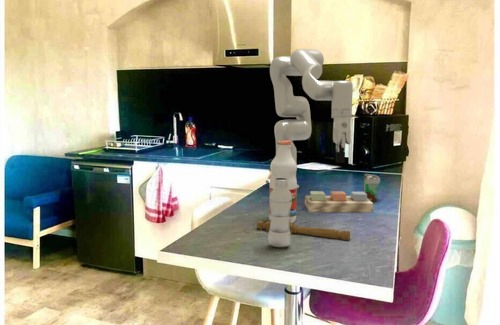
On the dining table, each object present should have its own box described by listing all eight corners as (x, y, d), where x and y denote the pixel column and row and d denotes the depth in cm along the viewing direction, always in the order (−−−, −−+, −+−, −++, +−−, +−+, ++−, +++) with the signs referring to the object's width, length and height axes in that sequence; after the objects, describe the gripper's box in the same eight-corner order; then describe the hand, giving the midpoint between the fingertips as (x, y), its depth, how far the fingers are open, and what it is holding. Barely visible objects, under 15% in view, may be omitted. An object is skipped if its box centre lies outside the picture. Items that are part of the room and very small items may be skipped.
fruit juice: (272, 216, 164) (274, 139, 160) (298, 218, 161) (300, 140, 157) (265, 223, 155) (267, 141, 151) (292, 226, 152) (295, 143, 148)
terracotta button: (332, 203, 173) (333, 194, 173) (330, 200, 178) (330, 191, 178) (345, 203, 173) (346, 194, 173) (343, 200, 178) (343, 191, 178)
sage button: (311, 203, 173) (312, 194, 173) (310, 199, 178) (310, 191, 178) (324, 203, 173) (325, 194, 173) (322, 200, 178) (323, 191, 178)
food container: (380, 204, 183) (381, 179, 182) (364, 203, 185) (365, 179, 183) (378, 197, 195) (379, 174, 194) (363, 196, 197) (364, 173, 195)
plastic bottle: (266, 242, 135) (267, 176, 132) (289, 242, 136) (290, 176, 133) (269, 250, 129) (270, 181, 126) (292, 249, 130) (294, 181, 126)
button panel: (309, 212, 170) (309, 202, 170) (304, 204, 182) (305, 195, 181) (372, 212, 170) (373, 203, 170) (364, 204, 182) (364, 196, 182)
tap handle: (349, 232, 137) (255, 221, 147) (348, 242, 138) (255, 230, 148) (350, 229, 140) (258, 219, 150) (350, 239, 140) (258, 227, 151)
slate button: (353, 203, 173) (354, 194, 173) (350, 200, 178) (351, 191, 178) (366, 203, 174) (367, 194, 173) (363, 200, 178) (363, 191, 178)
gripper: (356, 114, 164) (354, 165, 166) (346, 113, 179) (345, 159, 181) (335, 114, 164) (334, 165, 166) (327, 113, 179) (326, 159, 181)
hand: (340, 162), depth 174 cm, fingers closed
